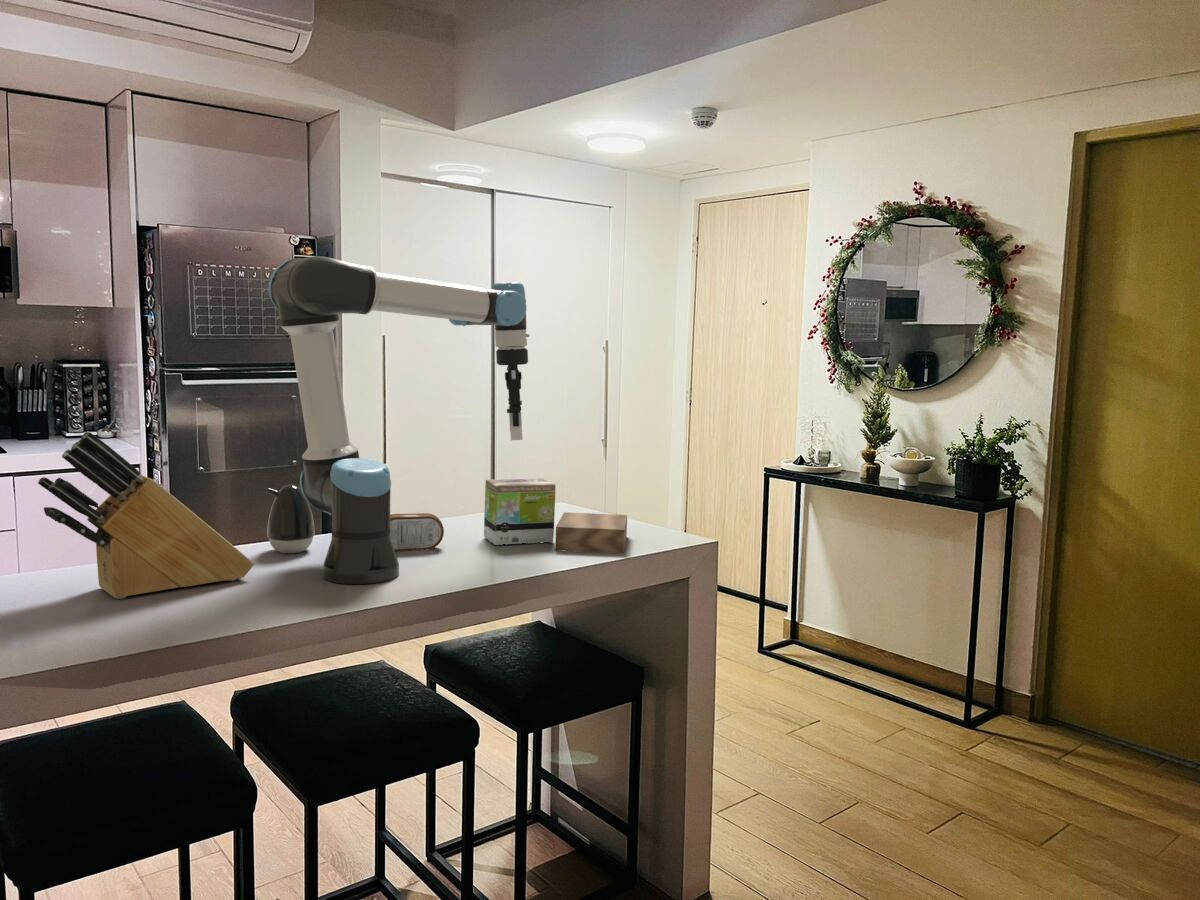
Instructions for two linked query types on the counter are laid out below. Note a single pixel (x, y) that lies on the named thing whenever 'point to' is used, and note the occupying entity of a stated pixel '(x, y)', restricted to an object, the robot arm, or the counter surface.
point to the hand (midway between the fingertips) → (516, 435)
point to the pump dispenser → (290, 520)
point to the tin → (415, 531)
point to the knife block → (141, 528)
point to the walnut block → (591, 532)
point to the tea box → (519, 511)
